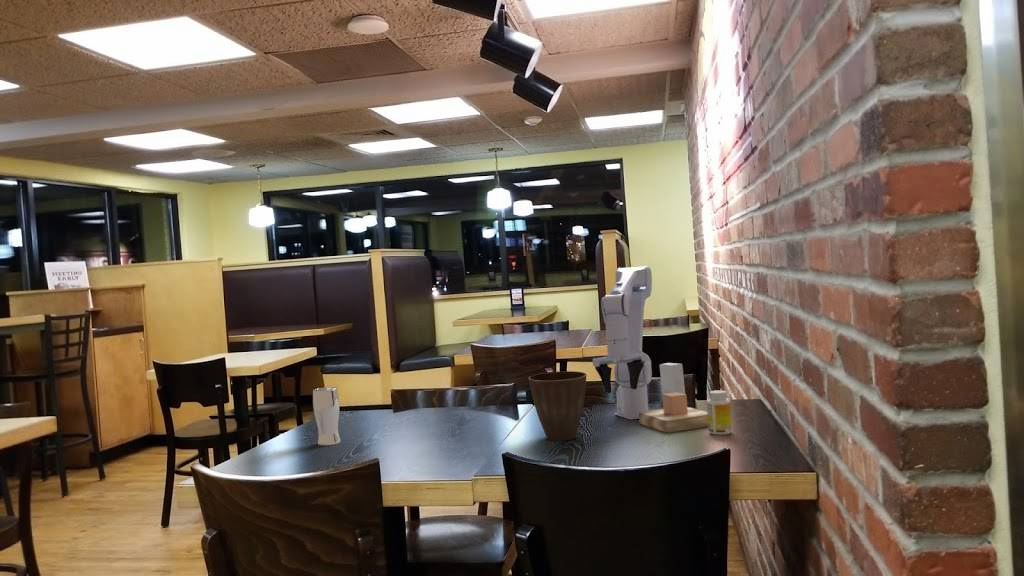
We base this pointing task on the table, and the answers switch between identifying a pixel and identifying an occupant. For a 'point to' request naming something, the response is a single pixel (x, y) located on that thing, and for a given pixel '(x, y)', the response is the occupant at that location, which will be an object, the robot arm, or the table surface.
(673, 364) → the skincare box
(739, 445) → the table surface
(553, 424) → the plant pot
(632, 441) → the table surface
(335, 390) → the beer glass
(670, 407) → the terracotta block
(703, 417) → the maple base
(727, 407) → the supplement bottle
